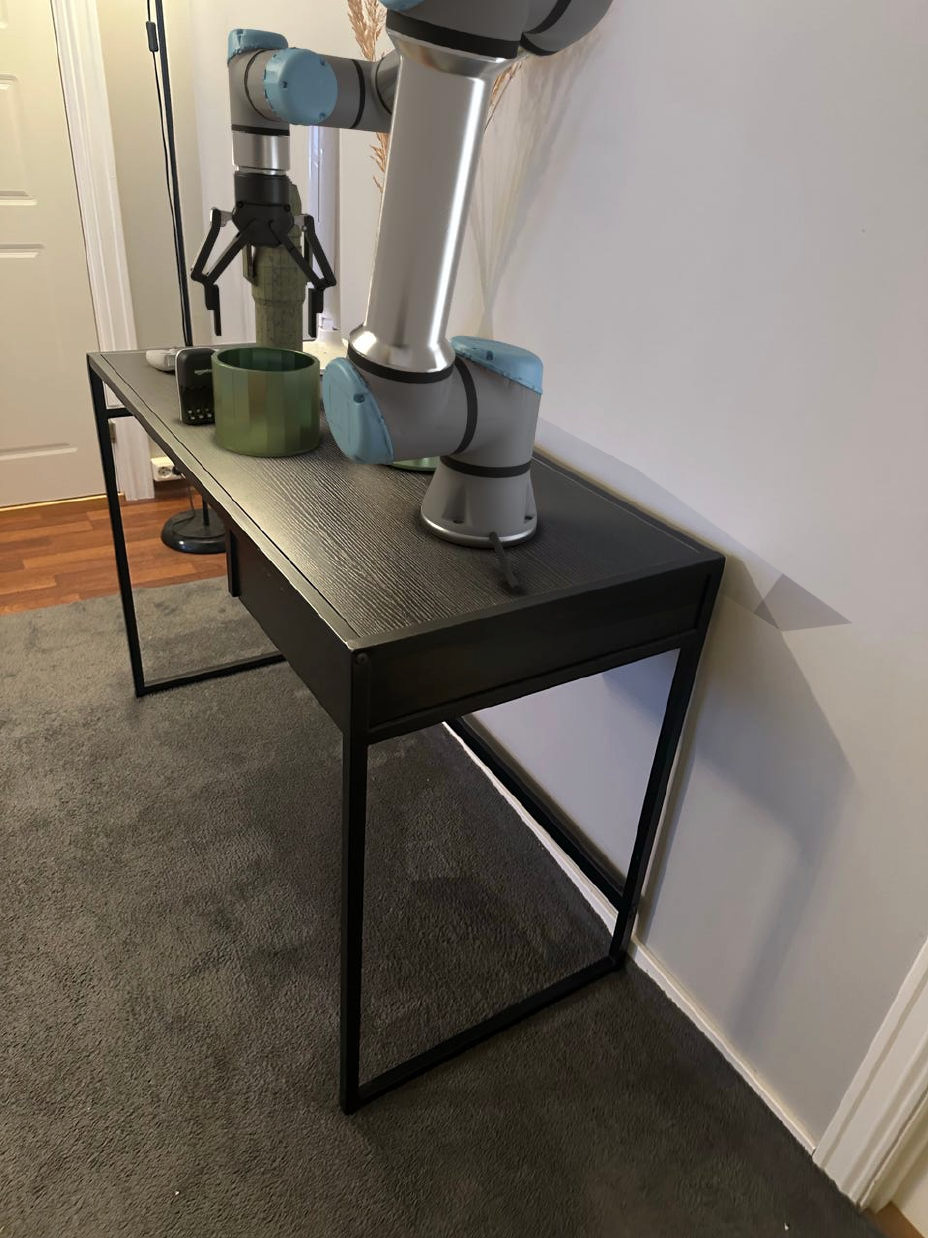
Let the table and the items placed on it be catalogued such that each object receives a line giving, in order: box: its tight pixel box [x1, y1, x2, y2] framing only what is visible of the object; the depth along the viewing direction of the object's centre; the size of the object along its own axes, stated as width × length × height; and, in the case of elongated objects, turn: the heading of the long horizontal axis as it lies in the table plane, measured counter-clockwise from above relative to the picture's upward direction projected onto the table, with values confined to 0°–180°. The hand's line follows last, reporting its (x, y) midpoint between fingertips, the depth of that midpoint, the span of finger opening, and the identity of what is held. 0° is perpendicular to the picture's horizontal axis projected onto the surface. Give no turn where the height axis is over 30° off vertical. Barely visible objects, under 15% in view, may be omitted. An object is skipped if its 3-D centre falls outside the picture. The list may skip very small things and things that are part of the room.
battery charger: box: [174, 346, 216, 425], centre depth 131 cm, size 7×4×11 cm, turn 131°
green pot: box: [211, 345, 321, 458], centre depth 127 cm, size 16×16×12 cm
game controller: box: [145, 345, 221, 372], centre depth 159 cm, size 14×4×10 cm
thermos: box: [241, 180, 314, 352], centre depth 139 cm, size 9×12×35 cm
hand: (266, 335), depth 122 cm, fingers open, 13 cm apart
